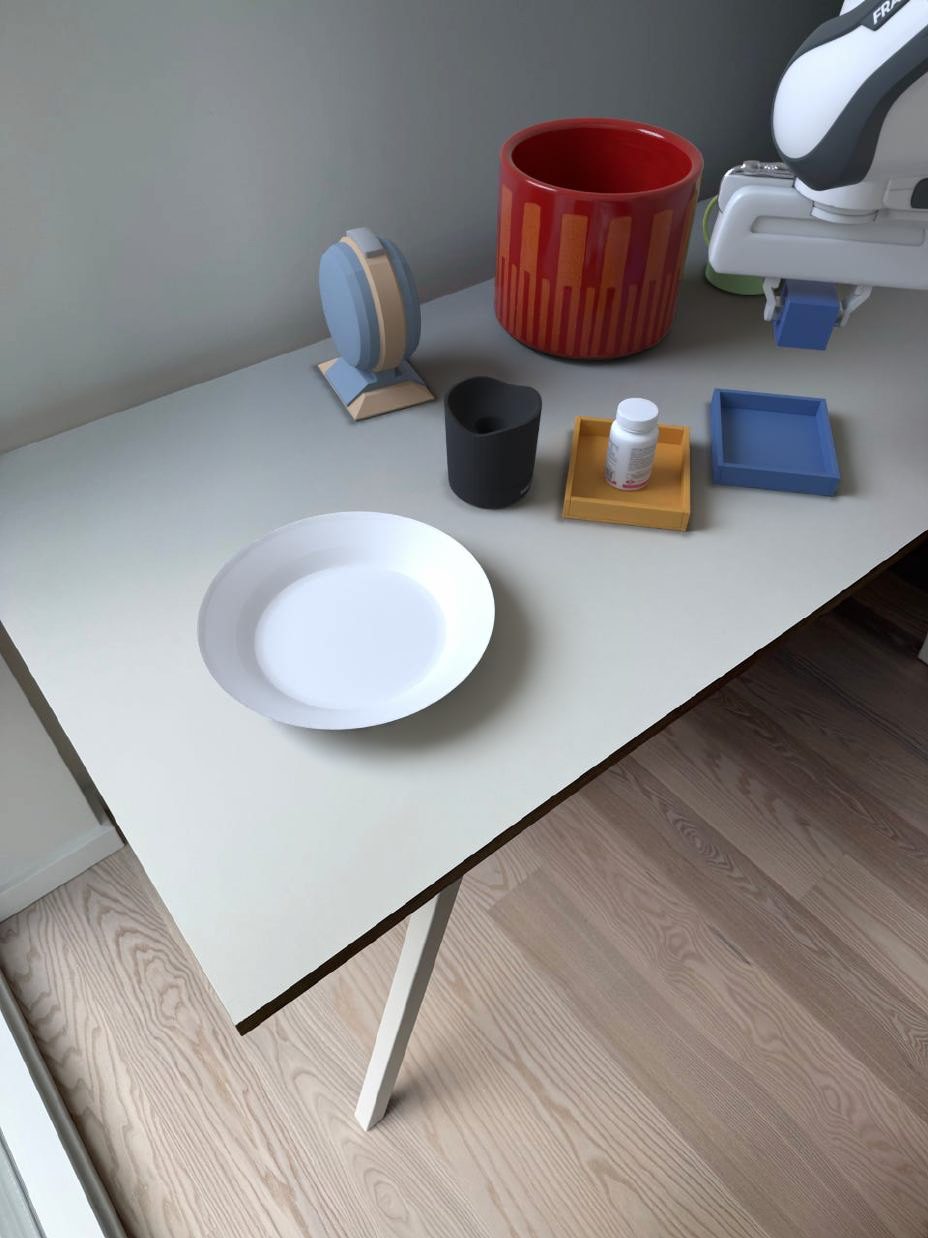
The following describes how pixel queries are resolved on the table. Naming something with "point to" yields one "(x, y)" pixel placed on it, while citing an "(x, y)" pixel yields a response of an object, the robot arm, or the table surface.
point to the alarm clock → (371, 324)
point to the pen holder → (491, 440)
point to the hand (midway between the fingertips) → (803, 321)
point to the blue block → (807, 314)
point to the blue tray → (772, 442)
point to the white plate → (345, 620)
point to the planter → (593, 235)
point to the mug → (730, 281)
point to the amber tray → (602, 502)
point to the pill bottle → (632, 444)
